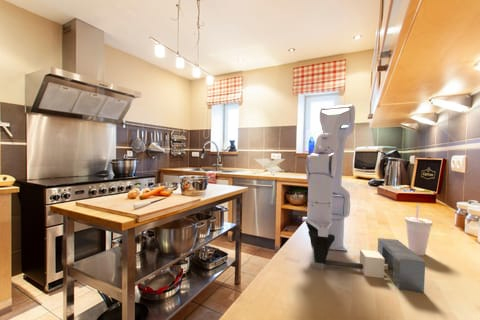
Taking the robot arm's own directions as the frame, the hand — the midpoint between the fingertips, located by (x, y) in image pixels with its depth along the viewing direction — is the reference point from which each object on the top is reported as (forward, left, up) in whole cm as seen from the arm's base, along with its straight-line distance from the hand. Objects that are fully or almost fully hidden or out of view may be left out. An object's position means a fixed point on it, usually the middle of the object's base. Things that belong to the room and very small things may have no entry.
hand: (317, 255), depth 56 cm
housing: (0, +18, -3) cm, 18 cm away
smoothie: (-16, +30, -3) cm, 34 cm away
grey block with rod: (0, +7, -3) cm, 7 cm away
